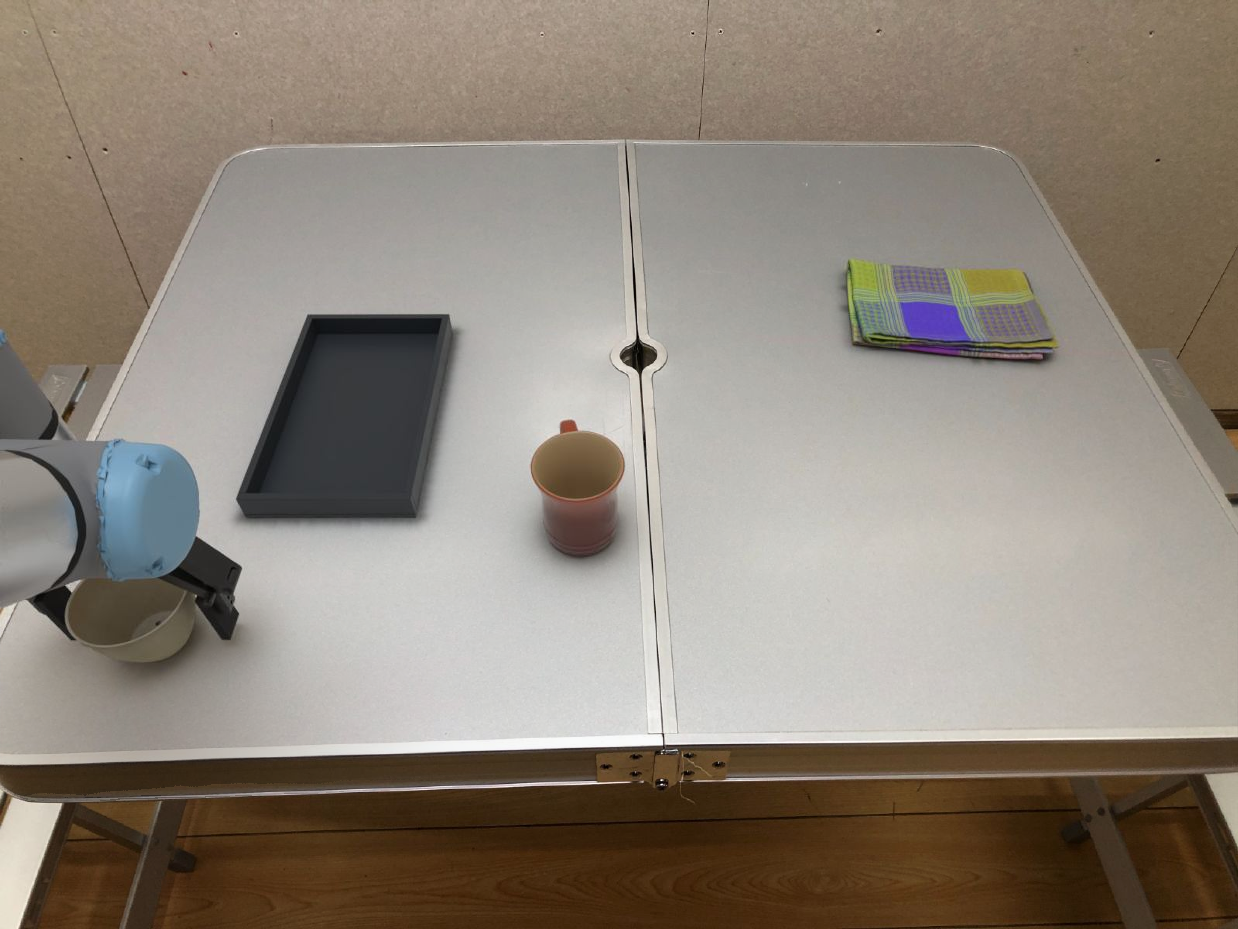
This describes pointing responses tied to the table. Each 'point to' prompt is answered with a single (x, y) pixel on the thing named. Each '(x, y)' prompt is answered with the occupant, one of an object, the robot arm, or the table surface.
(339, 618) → the table surface
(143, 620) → the flower pot
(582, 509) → the mug
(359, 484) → the tray
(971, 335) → the dish towel
